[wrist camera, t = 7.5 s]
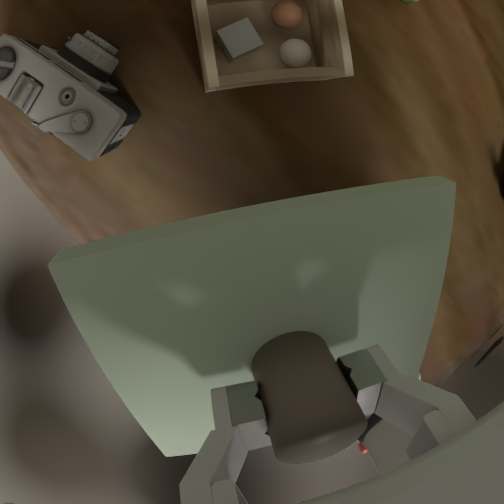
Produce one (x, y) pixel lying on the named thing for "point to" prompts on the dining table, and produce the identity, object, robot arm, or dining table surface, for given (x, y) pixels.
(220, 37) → the grey block
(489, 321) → the dining table surface
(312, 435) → the lid
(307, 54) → the ball cream
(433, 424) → the robot arm
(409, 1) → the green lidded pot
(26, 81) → the camera
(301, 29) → the birch box
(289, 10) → the ball terracotta
